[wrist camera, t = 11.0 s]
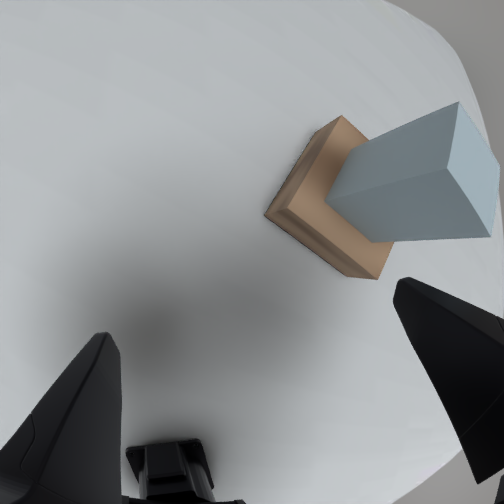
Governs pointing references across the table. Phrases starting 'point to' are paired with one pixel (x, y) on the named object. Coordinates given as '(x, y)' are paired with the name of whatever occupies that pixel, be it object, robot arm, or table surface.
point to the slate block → (420, 181)
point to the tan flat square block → (326, 205)
